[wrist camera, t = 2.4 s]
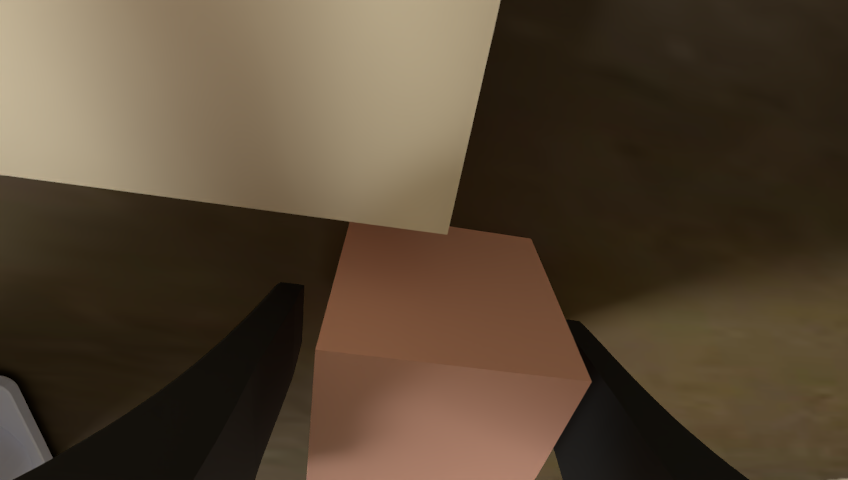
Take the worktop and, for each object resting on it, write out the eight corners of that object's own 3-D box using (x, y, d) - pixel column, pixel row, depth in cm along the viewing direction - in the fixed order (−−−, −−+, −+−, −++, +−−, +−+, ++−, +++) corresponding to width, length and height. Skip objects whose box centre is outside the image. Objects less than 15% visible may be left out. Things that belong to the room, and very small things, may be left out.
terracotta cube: (338, 341, 14) (305, 500, 10) (353, 210, 11) (315, 349, 7) (485, 359, 15) (512, 516, 10) (530, 237, 12) (591, 381, 8)
